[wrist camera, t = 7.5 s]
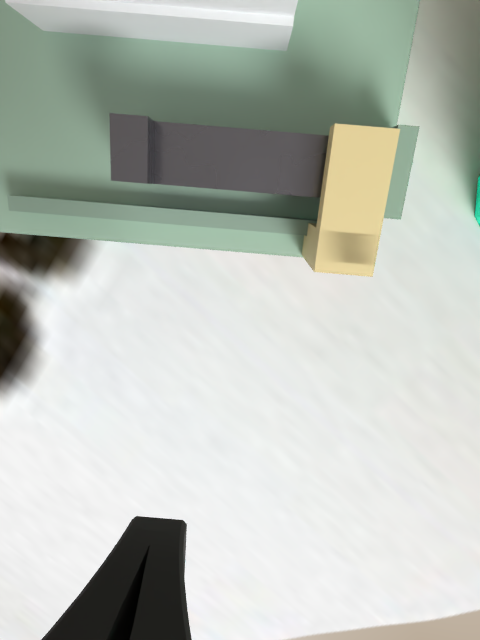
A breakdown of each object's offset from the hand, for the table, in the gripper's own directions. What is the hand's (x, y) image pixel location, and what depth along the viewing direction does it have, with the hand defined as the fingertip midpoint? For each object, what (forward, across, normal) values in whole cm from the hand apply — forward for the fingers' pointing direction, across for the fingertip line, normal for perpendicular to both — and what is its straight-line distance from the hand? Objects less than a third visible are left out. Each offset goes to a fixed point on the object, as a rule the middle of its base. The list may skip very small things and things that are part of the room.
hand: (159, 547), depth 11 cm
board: (+10, +1, -12) cm, 16 cm away
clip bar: (+9, -1, -10) cm, 13 cm away
